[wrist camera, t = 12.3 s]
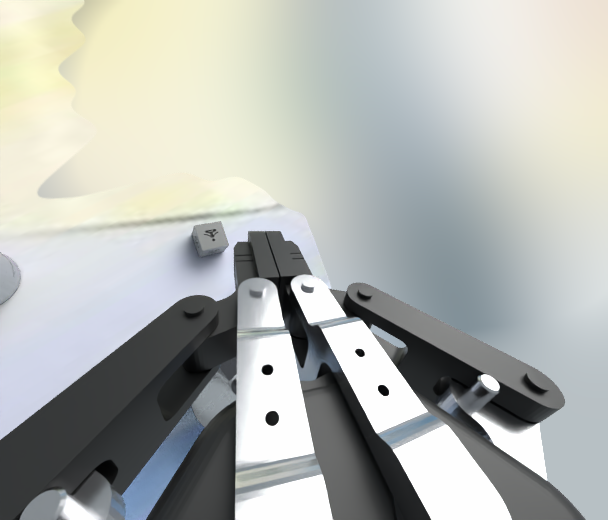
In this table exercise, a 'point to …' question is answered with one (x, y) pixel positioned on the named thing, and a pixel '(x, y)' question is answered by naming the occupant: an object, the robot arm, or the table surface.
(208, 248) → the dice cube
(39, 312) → the table surface
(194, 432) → the table surface
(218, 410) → the lid
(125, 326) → the table surface
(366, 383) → the robot arm
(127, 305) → the table surface
